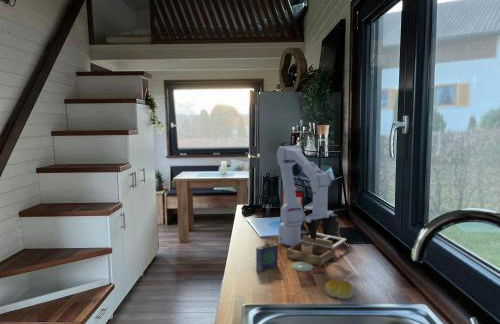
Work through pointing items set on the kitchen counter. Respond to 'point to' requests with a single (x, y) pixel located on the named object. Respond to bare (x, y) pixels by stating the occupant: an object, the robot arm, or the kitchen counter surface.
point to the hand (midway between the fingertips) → (319, 236)
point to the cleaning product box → (298, 196)
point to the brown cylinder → (307, 248)
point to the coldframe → (318, 257)
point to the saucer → (302, 266)
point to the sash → (323, 240)
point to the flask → (266, 257)
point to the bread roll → (339, 289)
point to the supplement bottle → (334, 229)
